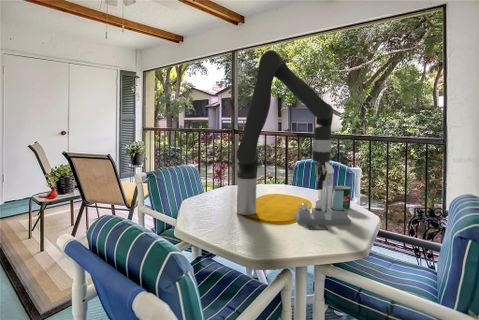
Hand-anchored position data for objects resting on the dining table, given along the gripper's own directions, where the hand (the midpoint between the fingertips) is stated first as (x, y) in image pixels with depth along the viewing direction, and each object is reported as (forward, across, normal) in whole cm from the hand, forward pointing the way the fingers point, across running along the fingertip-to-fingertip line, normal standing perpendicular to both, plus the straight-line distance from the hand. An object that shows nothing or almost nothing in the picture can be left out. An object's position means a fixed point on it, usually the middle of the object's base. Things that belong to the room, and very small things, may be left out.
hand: (319, 189), depth 132 cm
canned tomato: (+15, -22, +17) cm, 31 cm away
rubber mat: (+15, +8, -2) cm, 17 cm away
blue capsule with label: (+13, -1, +8) cm, 15 cm away
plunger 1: (+12, 0, -6) cm, 14 cm away
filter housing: (+15, -1, +2) cm, 15 cm away
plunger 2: (+10, 0, 0) cm, 10 cm away
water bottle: (+15, -16, +7) cm, 23 cm away
